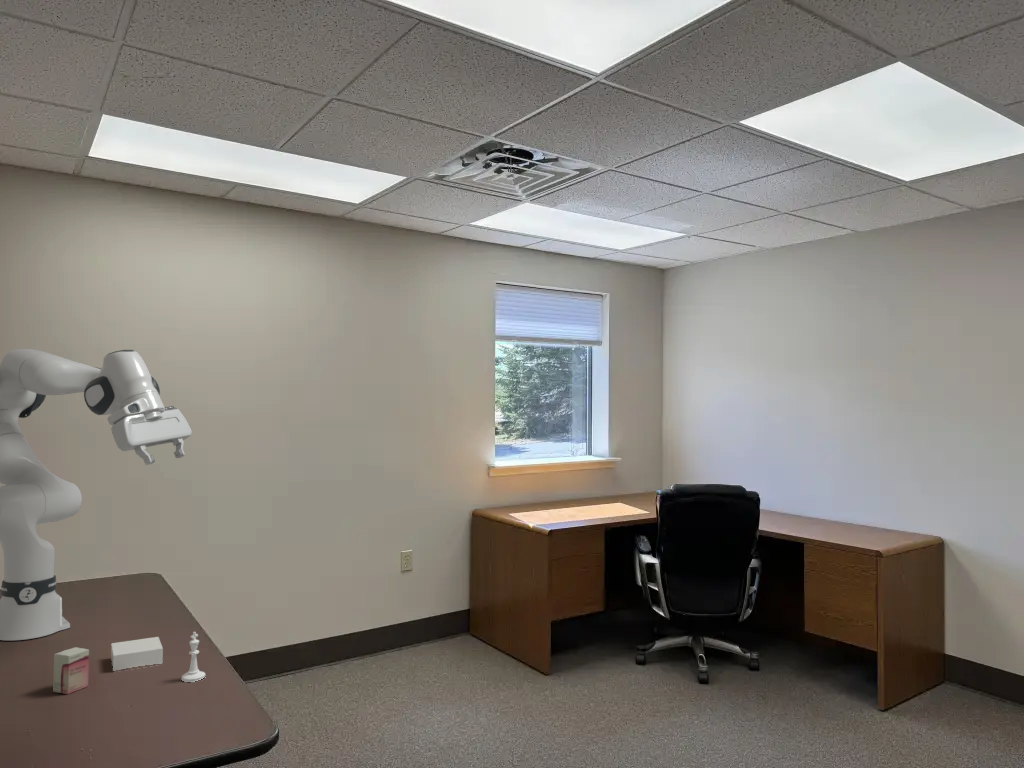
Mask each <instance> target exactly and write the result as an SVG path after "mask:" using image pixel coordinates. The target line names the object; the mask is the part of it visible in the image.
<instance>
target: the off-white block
mask: <svg viewBox="0 0 1024 768" xmlns="http://www.w3.org/2000/svg"><path fill="white" fill-rule="evenodd" d="M163 656H164V648H163V645H162V643H161V640H160V637H159V636H155V637H146V638H140V639H134V640H133V639H132V640H125V641H119V642H112V643H111V645H110V661H112V662H111V667H112V666H113V668H112V672H113V671H116V670H121V669H126V668H132V667H138V666H145V665H153V664H162V663H164V662H163V661H164V660H163V659H164V657H163ZM162 665H163V664H162Z"/></svg>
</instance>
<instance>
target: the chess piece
mask: <svg viewBox="0 0 1024 768" xmlns="http://www.w3.org/2000/svg"><path fill="white" fill-rule="evenodd" d="M197 637H199V634H198V633H197V632H196V631H193V632H192V635H190V639H191V640H190V641H189V642H188V643H189V644H188V645H189V646H190V649H191V650H189V652H188V655H191V658H190V665H189V670H188V671H187V672H185V673H183V674H182V675H181V679H180V681H181V680H182V681H184V682H183V683H187V682H191V683H196V682H195V681H198V680H201V679H203V678H204V677H205V676H206V672H205V671H201V670H200V669H199V667H198V660H197V659H198V657H197V654H199V653H200V650H198V646H199V643H200V640H199V639H197ZM205 678H206V677H205ZM203 680H204V679H203ZM182 681H181V682H182ZM201 681H202V680H201ZM198 682H199V681H198Z"/></svg>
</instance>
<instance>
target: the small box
mask: <svg viewBox="0 0 1024 768" xmlns="http://www.w3.org/2000/svg"><path fill="white" fill-rule="evenodd" d="M89 663H90V649H89V648H88V649H87V648H83V647H82V648H81V647H77V646H75V647H71V648H69V649H64V650H62V651H59V652H57V653H54V654H53V675H52V676H53V680H52V681H53V683H52V692H54V693H58V694H59V693H60V694H63V695H64V694H65V695H70V694H72V693H74V692H77V691H79V690H82V689H84V688H87V687H88V686H89V670H90V669H89V667H90V665H89Z"/></svg>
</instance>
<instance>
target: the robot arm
mask: <svg viewBox="0 0 1024 768" xmlns="http://www.w3.org/2000/svg"><path fill="white" fill-rule="evenodd" d="M102 362H103V363H102V366H101V367H96V366H94V365H93V366H91V365H89V364H85V363H83V362H82V363H81V362H79V361H75V360H71V359H68V358H66V357H62V356H60V355H56V354H53V353H50V352H47V351H43V350H40V349H34V348H14V349H12V350H10V351H8V352H7V353H6V354H5V355H4V356H3V357H2V358H1V363H0V484H2V485H1V486H0V545H1V548H2V553H3V554H2V555H3V580H2V581H1V585H0V590H1V591H0V595H1V597H0V641H22V640H23V641H25V640H30V639H31V640H32V639H36V638H41V637H45V636H50V635H52V634H54V633H57V632H59V631H63V630H67V629H69V628H71V622H69V621H68V620H67V619H66V618H65V617H64V616H63V614H64V613H63V612H64V610H63V606H62V605H63V602H62V601H63V599H62V597H61V596H60V595H59V594H58V593H57V591H56V589H57V576H56V575H55V560H56V559H55V557H56V552H55V551H56V549H55V547H54V545H53V544H52V542H50V541H48V540H46V539H44V538H41V537H40V536H39V535H38V531H37V527H36V526H37V525H40V524H49V523H55V522H60V521H61V520H66V519H67V518H70V517H73V516H75V515H77V513H78V512H79V511H80V509H81V506H82V503H83V496H82V491H81V490H80V488H79V487H78V485H77V484H75V483H73V482H70V481H68V480H65V479H63V478H61V477H60V476H58V475H56V474H54V473H53V472H52V471H51V470H50V469H49V468H48V467H46V466H45V465H44V464H42V462H41V461H40V460H39V459H38V458H37V457H36V456H37V455H35V453H34V451H33V449H32V448H31V446H30V445H29V444H30V443H28V440H27V439H26V437H25V435H24V433H23V431H22V430H21V428H20V425H19V423H18V422H19V418H21V419H25V418H26V419H27V418H28V417H30V416H31V414H32V413H33V412H34V411H36V410H37V409H38V408H39V407H40V406H41V405H42V404H43V402H44V401H45V399H46V398H47V397H46V396H62V395H63V396H64V395H71V394H79V393H83V397H84V401H85V404H86V406H87V408H88V409H89V410H90V411H91V412H92V413H93V414H95V415H98V416H106V415H107V416H108V417H107V418H106V420H107V422H108V424H109V425H111V434H112V438H113V440H114V441H115V444H116V446H117V448H118V449H119V450H121V452H127V451H128V452H129V451H133V450H134V452H135V454H136V455H137V456H138V457H139V458H141V459H142V460H143V462H144V464H145V465H146V466H148V465H152V464H154V463H155V462H156V460H155V458H154V455H153V454H150V453H149V452H148V451H147V450H146V449H147V448H149V447H155V446H158V445H159V446H160V445H165V444H169V443H172V444H173V446H174V447H175V451H174V452H173V454H174V456H175V459H181V458H183V457H184V456H186V454H185V451H184V444H185V443H184V442H185V441H184V440H186V439H187V438H189V437H191V436H192V434H193V433H192V429H191V426H190V424H189V423H188V420H187V419H186V417H185V416H184V415H183V413H182V412H181V410H180V409H179V408H177V407H175V406H173V405H170V406H165V404H164V402H163V401H162V398H161V396H160V394H161V392H160V391H161V390H160V386H159V383H158V382H157V381H156V379H155V378H154V377H153V376H152V375H151V373H150V371H149V369H148V366H147V365H146V362H145V360H144V359H143V358H142V356H141V354H139V352H137V350H133V349H122V350H121V349H120V350H115V351H111V352H109V353H107V354H106V355H105V356H104V357H103V360H102Z"/></svg>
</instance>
